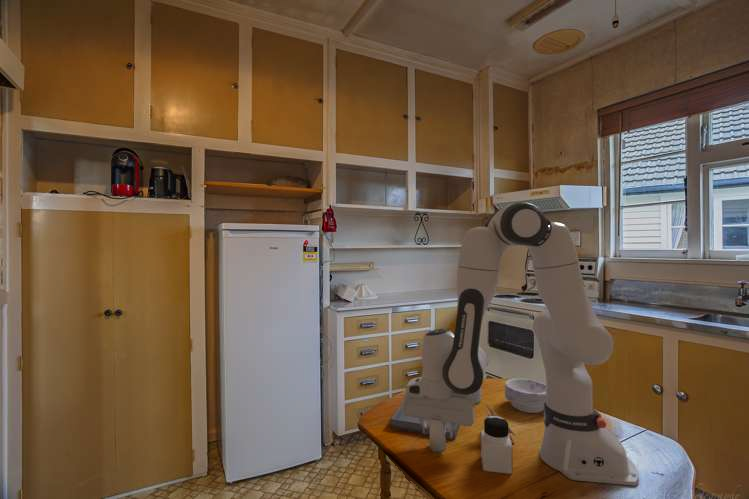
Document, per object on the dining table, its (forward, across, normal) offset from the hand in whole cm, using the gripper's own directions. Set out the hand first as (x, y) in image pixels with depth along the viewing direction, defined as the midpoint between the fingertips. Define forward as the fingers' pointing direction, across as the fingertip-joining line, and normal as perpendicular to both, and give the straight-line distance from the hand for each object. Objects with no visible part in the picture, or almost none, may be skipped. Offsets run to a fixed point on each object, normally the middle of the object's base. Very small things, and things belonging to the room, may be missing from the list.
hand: (437, 435), depth 107 cm
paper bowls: (+4, -25, -37) cm, 44 cm away
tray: (+4, +6, -14) cm, 16 cm away
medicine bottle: (+4, -16, +3) cm, 17 cm away
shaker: (+4, 0, 0) cm, 4 cm away
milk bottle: (+4, -5, -36) cm, 37 cm away
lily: (+4, -16, -10) cm, 20 cm away
